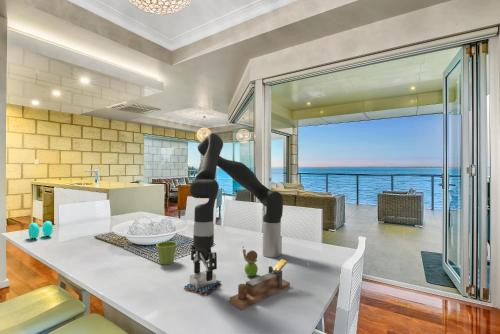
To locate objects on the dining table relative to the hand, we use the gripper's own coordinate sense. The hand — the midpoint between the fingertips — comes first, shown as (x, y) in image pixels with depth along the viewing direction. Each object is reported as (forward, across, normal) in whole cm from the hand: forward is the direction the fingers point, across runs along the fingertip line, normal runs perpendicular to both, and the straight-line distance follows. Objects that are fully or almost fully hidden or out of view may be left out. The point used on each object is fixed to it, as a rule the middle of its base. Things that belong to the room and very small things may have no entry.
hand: (202, 276), depth 92 cm
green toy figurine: (+4, +4, +20) cm, 21 cm away
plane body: (+4, +18, +13) cm, 23 cm away
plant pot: (+4, -32, 0) cm, 32 cm away
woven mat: (+5, 0, 0) cm, 5 cm away
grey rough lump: (+2, 0, 0) cm, 2 cm away
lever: (-2, +18, +20) cm, 27 cm away
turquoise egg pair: (+4, -122, -42) cm, 129 cm away
